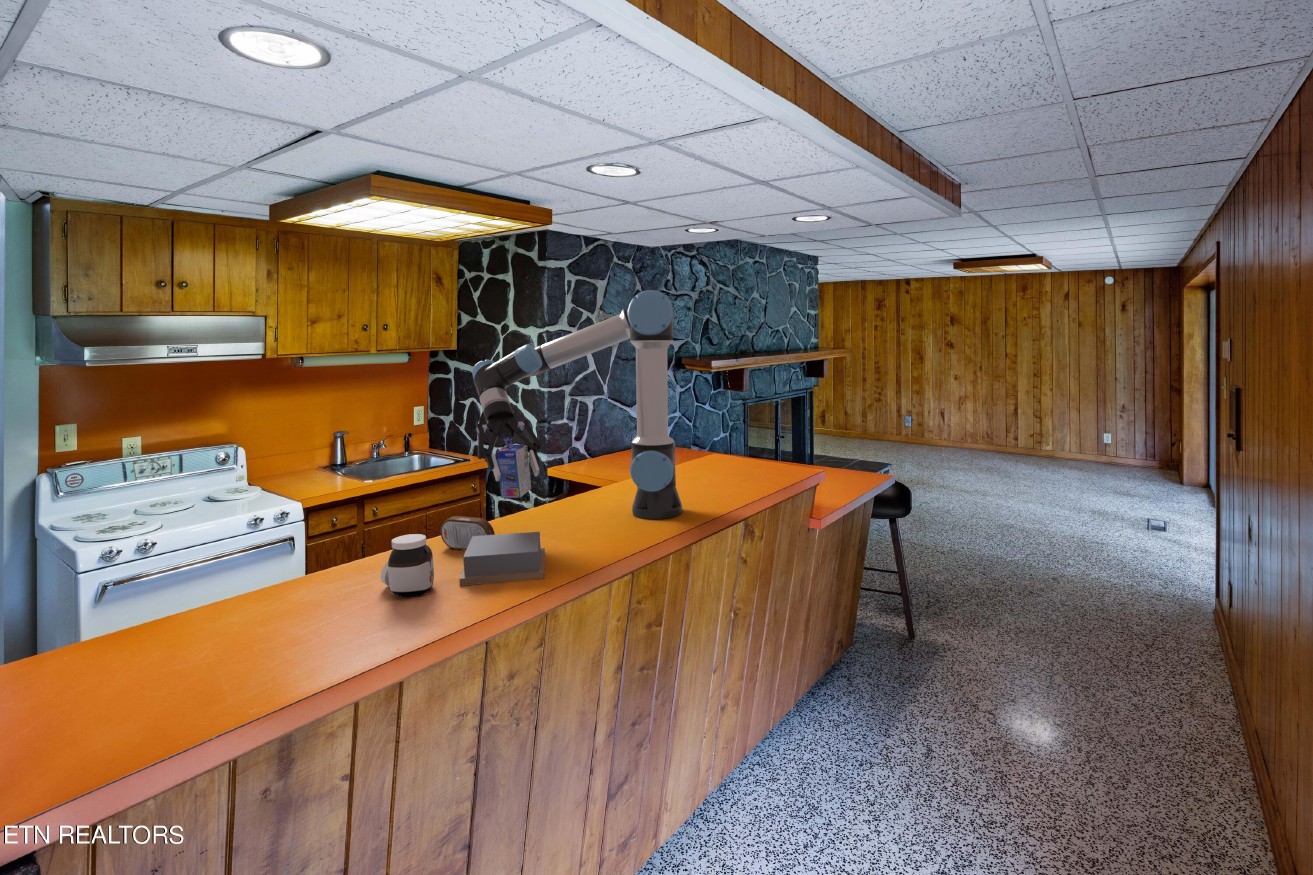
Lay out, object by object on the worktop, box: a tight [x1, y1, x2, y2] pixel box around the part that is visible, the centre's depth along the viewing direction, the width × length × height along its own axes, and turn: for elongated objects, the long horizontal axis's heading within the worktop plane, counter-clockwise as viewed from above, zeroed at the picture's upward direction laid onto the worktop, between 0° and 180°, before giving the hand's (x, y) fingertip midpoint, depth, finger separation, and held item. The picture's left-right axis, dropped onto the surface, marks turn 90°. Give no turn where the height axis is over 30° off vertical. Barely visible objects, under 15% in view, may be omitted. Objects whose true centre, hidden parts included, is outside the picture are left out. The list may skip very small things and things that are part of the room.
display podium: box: [459, 531, 546, 586], centre depth 152 cm, size 18×18×6 cm
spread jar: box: [379, 533, 435, 599], centre depth 140 cm, size 12×11×12 cm
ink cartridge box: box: [496, 437, 532, 499], centre depth 169 cm, size 10×6×14 cm, turn 175°
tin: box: [439, 515, 496, 551], centre depth 168 cm, size 15×3×8 cm, turn 70°
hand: (518, 475), depth 166 cm, fingers closed on ink cartridge box, 9 cm apart
